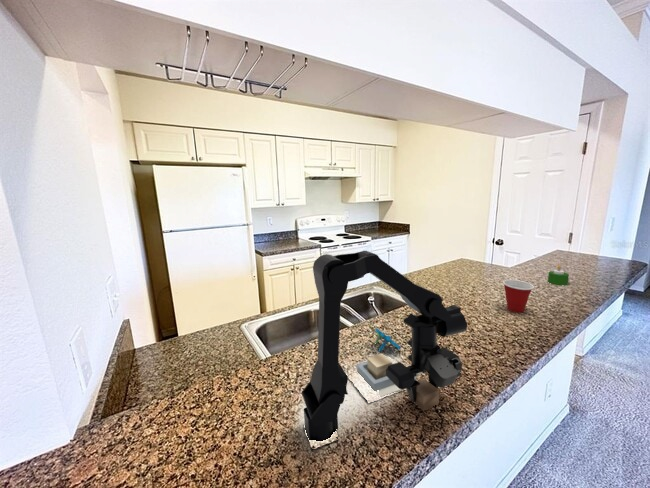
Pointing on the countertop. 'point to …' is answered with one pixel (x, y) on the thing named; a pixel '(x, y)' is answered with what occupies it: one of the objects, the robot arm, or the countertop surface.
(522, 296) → the plastic cup
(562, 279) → the candle
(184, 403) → the countertop surface
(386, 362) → the maple cube
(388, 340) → the gear
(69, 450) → the countertop surface
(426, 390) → the walnut block
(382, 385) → the board
